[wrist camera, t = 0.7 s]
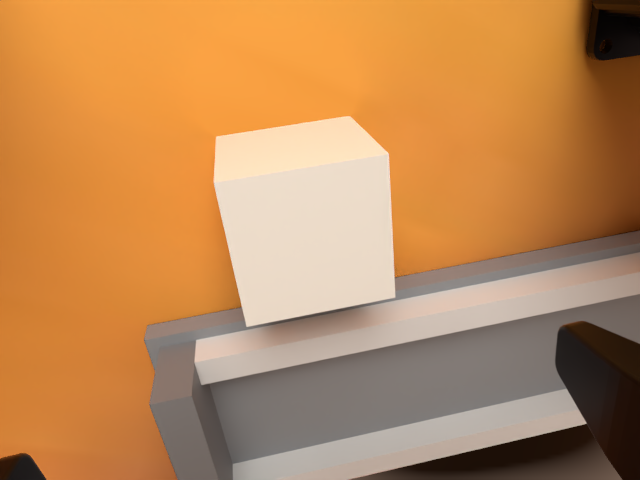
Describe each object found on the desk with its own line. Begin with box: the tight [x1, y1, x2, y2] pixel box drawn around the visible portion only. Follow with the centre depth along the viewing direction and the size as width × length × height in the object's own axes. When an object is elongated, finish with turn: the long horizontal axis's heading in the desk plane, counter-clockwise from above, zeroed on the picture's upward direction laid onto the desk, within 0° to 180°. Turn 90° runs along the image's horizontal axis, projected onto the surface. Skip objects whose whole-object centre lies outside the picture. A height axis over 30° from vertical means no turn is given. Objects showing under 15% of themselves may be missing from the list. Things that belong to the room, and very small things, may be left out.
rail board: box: [144, 230, 640, 480], centre depth 23 cm, size 26×10×4 cm, turn 97°
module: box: [214, 116, 395, 327], centre depth 17 cm, size 5×5×5 cm
